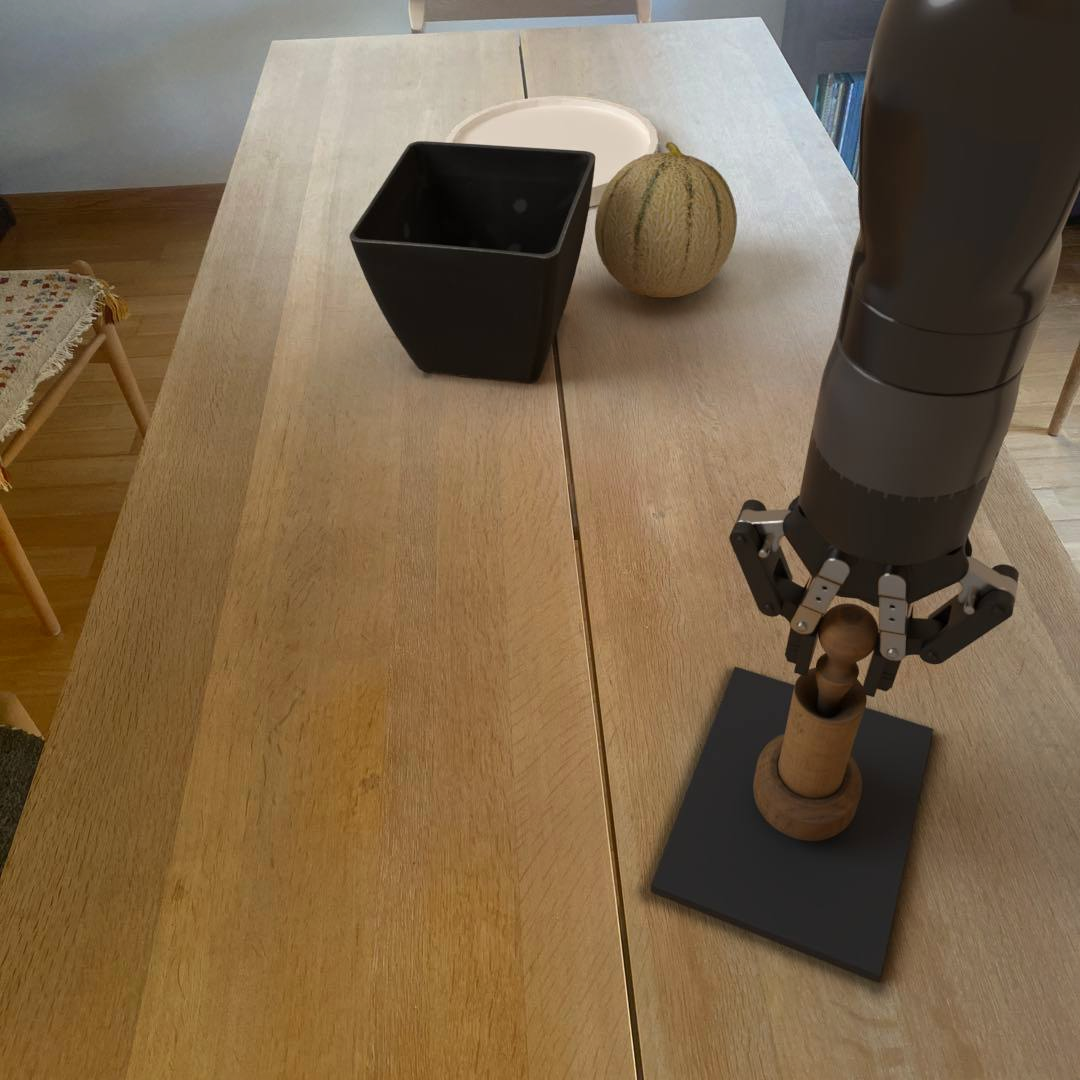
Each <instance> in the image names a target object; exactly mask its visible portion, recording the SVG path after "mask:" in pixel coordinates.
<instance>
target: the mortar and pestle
mask: <svg viewBox="0 0 1080 1080" xmlns="http://www.w3.org/2000/svg"><path fill="white" fill-rule="evenodd" d="M878 637H879V624H878V622H877V620H876V618H875V617H874V615H873V614H872V613H871V612H870V611H869V610H868V609H867V608H864V607H863V606H861V605H859V604H856V603H840V604H837V605H834V606H832V607H831V608H829V609H827V611H826V613H825V614H824V615H823V617H822V619H821V621H820V624H819V629H818V641H819V644H820V646H821V648H822V650H823V651H824V653H823V654H822V655H820V656H819V657H818V659H817V661H816V662H815V666H814V667H812V668H809V670H808V674H807V676H803V675H800V674H799V676H798V677H797V679H796V680H795V683H794V685H795V686H794V690H793V695H792V700H791V706H790V711H789V716H788V721H787V726H786V731H785V734H782V735H780V736H778V737H776V738H775V739H773V740H772V741H771V742H769V743H768V744H767V745H766V747H765V748H764V749H763V751H762V752H761V754H760V756H759V759H758V762H757V767H756V772H755V777H754V783H753V791H754V798H755V801H756V804H757V807H758V809H759V811H760V812H761V814H762V815H763V817H764V818H765V819H766V820H767V821H768V822H769V823H770V824H771V825H772V826H773V827H774V828H776V829H777V830H778V831H780V832H782V833H784V834H786V835H788V836H790V837H793V838H796V839H800V840H806V841H819V840H824V839H828V838H831V837H833V836H835V835H837V834H839V833H840V832H841V831H843V830H844V829H845V828H846V827H847V826H848V825H849V823H850V822H851V820H852V819H853V817H854V815H855V812H856V809H857V806H858V803H859V800H860V796H861V791H862V779H861V774H860V771H859V768H858V766H857V764H856V762H855V760H854V759H853V757H852V756H851V755H850V753H851V750H852V746H853V743H854V740H855V737H856V734H857V730H858V727H859V724H860V721H861V719H862V716H863V713H864V710H865V707H866V708H867V702H868V701H867V699H868V696H867V695H865V694H861V692H862V688H863V684H862V683H861V681H860V680H859V679H858V678H859V675H860V668H859V665H858V662H860V661H863V660H864V659H866V658H867V657H868V656H870V655H871V654H872V653H873V650H874V648H875V646H876V643H877V641H878Z"/></svg>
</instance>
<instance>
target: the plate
mask: <svg viewBox="0 0 1080 1080" xmlns="http://www.w3.org/2000/svg"><path fill="white" fill-rule="evenodd" d="M444 142H446V143H464V144H480V145H496V146H513V147H529V148H545V149H561V150H577V151H587V152H591V153H593V154H594V155H595V169H594V177H593V185H592V192H591V199H590V205H589V208H591V207H595V206H598V205H599V203H600V200H601V197H602V195H603V193H604V191H605V189H606V186H607V185H608V183H609V182H610V180H611V179H612V178H613V177H614V176H615V175H616V174H617V173H618V171H620V170H621V169H622V168H623V167H624V166H626V165H627V164H628V163H630V162H632V161H633V160H635V159H638V158H640V157H642V156H644V155H645V154H647V155H649V154H654V153H659V139H658V131H657V129H656V127H655V126H654V125H653V124H652V123H651V121H650V120H649V119H648V118H647V117H646V116H644V115H643V114H641V113H639V112H638V111H636V110H635V109H633V108H630V107H628V106H624V105H622V104H620V103H616V102H614V101H610V100H606V99H599V98H595V97H590V96H589V97H588V96H572V95H549V96H534V97H528V98H527V97H526V98H522V99H515V100H511V101H507V102H502V103H500V104H496V105H493V106H490V107H487V108H485V109H482V110H480V111H478V112H476V113H473V114H471V115H469V116H467V117H466V118H464V120H462V121H461V122H459V123H458V124H457V125H455V126H454V127H453V128H452V130H451V131H450V132H449V134H447V137H446V138H445V139H444Z"/></svg>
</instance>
